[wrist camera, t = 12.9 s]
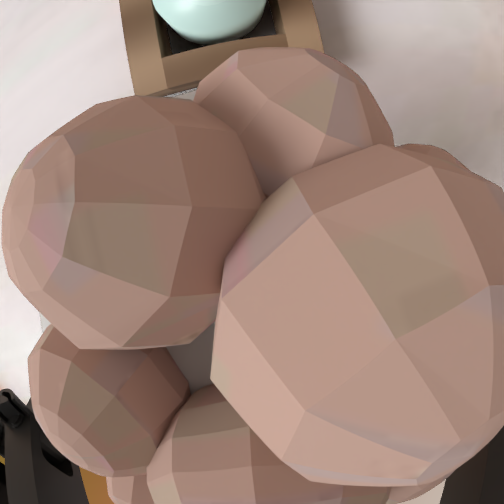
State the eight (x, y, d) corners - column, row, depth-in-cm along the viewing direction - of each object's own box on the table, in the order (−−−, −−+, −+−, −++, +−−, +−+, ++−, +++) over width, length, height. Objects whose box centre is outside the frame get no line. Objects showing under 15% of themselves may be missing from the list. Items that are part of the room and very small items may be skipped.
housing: (131, -22, 11) (115, -38, 8) (281, -52, 10) (287, -73, 7) (152, 99, 15) (135, 98, 13) (312, 69, 15) (326, 62, 12)
